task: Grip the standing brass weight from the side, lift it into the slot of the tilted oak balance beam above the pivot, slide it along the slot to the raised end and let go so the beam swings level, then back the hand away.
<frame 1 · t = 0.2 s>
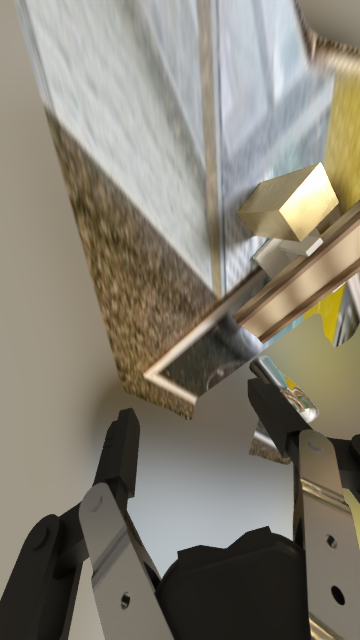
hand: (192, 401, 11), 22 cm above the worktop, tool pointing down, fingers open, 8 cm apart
beam stand: (293, 259, 32), on the worktop
beer glass: (259, 363, 46), on the worktop
brass weight: (257, 210, 27), on the worktop
balance beam: (323, 267, 26), point 6 cm above the worktop, hinge at -5.0°
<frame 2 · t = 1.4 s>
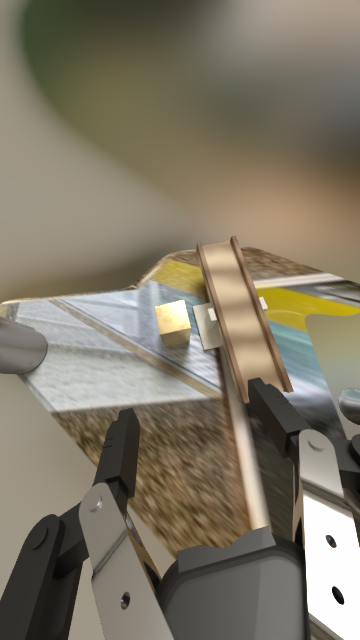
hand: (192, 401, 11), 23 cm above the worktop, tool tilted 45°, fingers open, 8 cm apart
beam stand: (228, 321, 37), on the worktop
beer glass: (354, 405, 31), on the worktop
brass weight: (175, 333, 37), on the worktop
balance beam: (236, 310, 31), point 6 cm above the worktop, hinge at -5.0°
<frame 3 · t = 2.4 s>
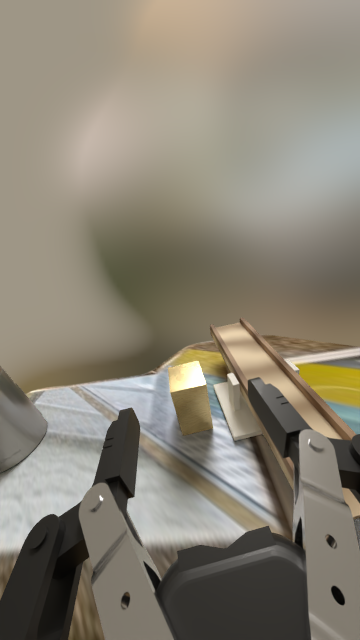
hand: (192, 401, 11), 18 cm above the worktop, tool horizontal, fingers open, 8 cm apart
beam stand: (260, 401, 30), on the worktop
brass weight: (194, 417, 29), on the worktop
balance beam: (262, 375, 27), point 6 cm above the worktop, hinge at -5.0°
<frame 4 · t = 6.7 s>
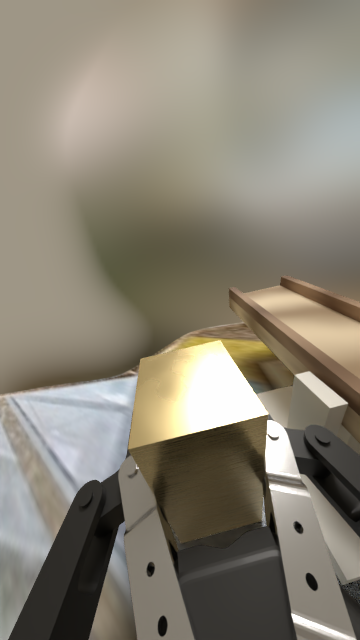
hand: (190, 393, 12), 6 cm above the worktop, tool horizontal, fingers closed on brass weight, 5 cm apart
brass weight: (209, 479, 12), on the worktop, touching gripper
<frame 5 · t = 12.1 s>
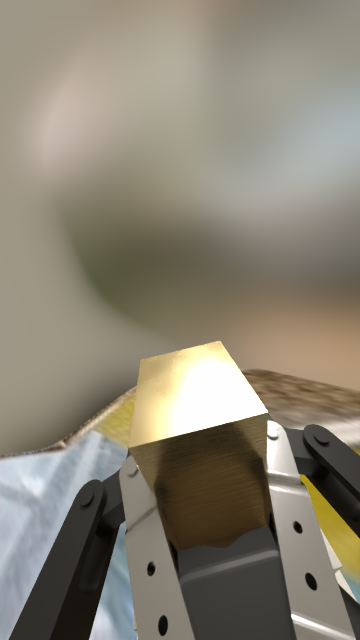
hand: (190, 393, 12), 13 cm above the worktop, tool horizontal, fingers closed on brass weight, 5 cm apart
beam stand: (235, 580, 12), on the worktop
brass weight: (211, 483, 12), point 7 cm above the worktop, touching gripper
balance beam: (231, 559, 9), point 6 cm above the worktop, hinge at -1.1°
when the fingers open (14 cm above the worktop, at t = 14.4 s): brass weight drops 1 cm, resting on balance beam.
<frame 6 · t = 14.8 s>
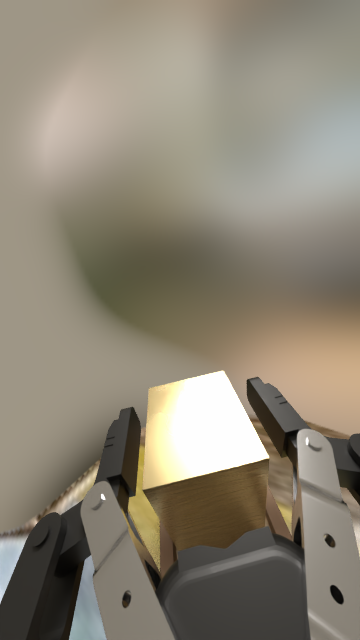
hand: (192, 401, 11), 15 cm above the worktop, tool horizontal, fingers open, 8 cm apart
brass weight: (213, 500, 13), point 7 cm above the worktop, touching balance beam
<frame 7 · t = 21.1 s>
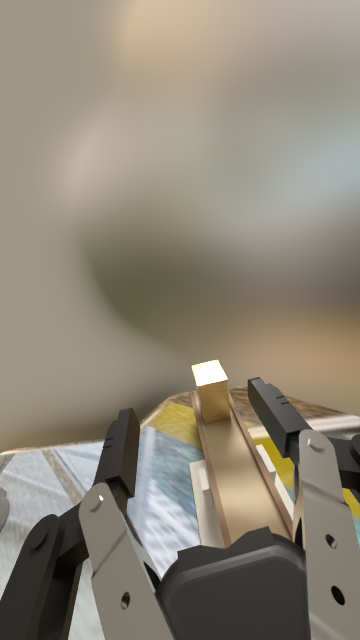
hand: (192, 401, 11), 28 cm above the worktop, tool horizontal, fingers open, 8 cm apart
beam stand: (237, 491, 27), on the worktop
brass weight: (213, 410, 34), point 7 cm above the worktop, touching balance beam
balance beam: (236, 471, 25), point 6 cm above the worktop, hinge at 0.5°, touching brass weight
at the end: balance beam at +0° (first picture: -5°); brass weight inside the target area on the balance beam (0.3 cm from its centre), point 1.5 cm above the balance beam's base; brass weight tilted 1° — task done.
